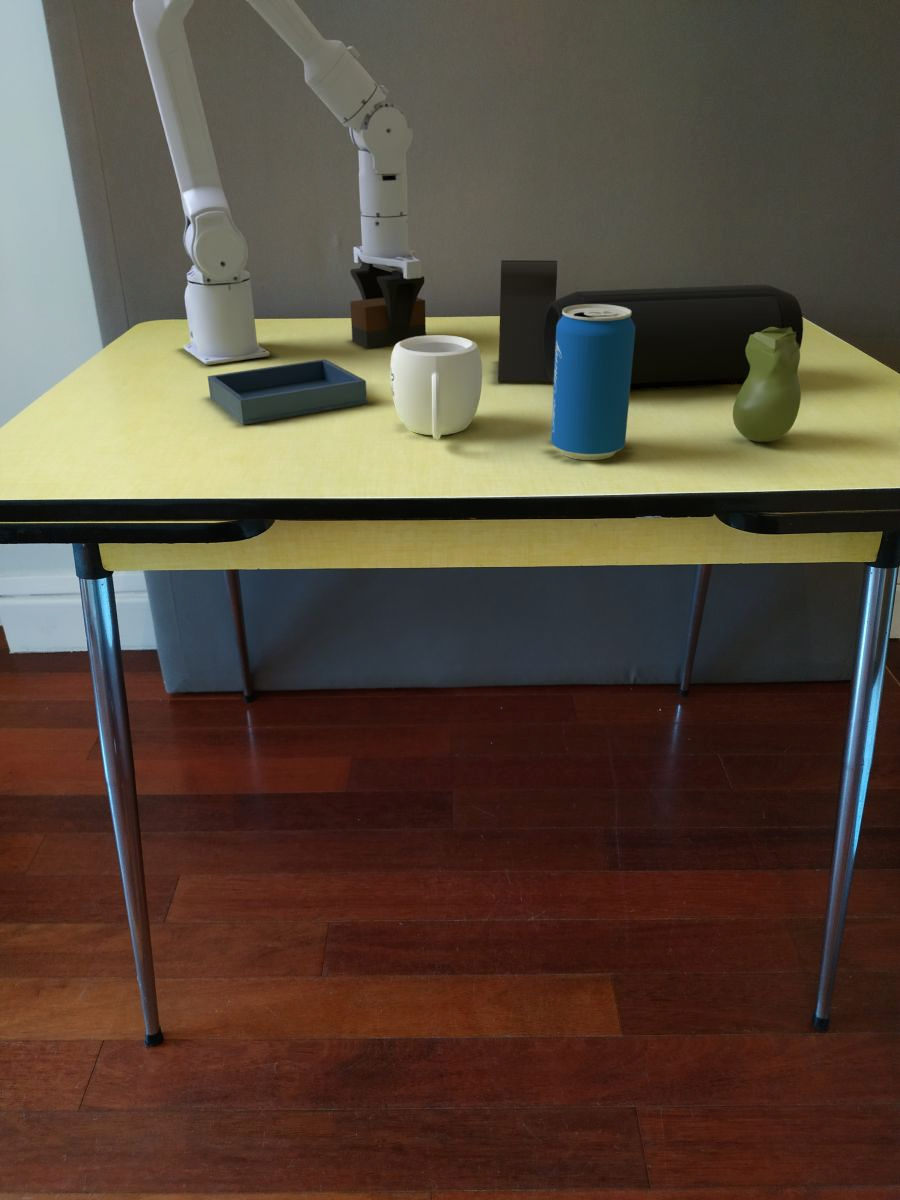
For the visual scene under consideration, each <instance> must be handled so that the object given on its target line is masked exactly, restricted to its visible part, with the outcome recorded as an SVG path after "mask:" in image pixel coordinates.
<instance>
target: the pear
mask: <svg viewBox="0 0 900 1200" xmlns="http://www.w3.org/2000/svg"><path fill="white" fill-rule="evenodd" d="M795 338H796V332H793V331H792V328H791V327H789V328H787V327H786V328H785V329H784V328H783V329H779V328H776V327H769V328H767V329H765V330H763V331H761V332H756V333H755V334H753V335H750V337H749V341H748V343H747V345H746V349H745V352H746V357H747V359H748V362H749V364H750V372H749V375H748V377H747V379H746V381H745V382H744V384H742V385H741V387H740V389H739V390H738V394H737V396H736V398H735V399H734V400H735V401H734V404H733V408H732V420H733V424H734V426H735V428H736V430H737V432H738V433H739V434H741V435H742V436H743V437H744V438H745V439H747V440H750V441H752V442H757V443H769V442H774V441H776V440H779V439H781V438H782V437H784V436H785V435H786V434H788V432H789V431H790V430H791V429H792V427H793V426H794V425H795V422H796V420H797V417H798V415H799V410H800V406H801V400H802V399H801V398H802V387H801V382H800V377H799V365H800V361H801V347H800V348H799V343H798V342H796V339H795Z"/></svg>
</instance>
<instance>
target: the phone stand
mask: <svg viewBox="0 0 900 1200" xmlns="http://www.w3.org/2000/svg"><path fill="white" fill-rule="evenodd" d="M557 283H558V260H524V259H523V260H520V259H519V260H517V259H515V260H512V259H511V260H509V259H508V260H505V259H504V260H503V259H502V260H500V289H499V290H500V292H499V295H500V297H499V327H498V330H499V334H498V369H497V383H498V384H549V385H550V384H553V385H554V383H552V382H551V381H550V379H549V377H548V375H547V372H546V367H545V361H544V353H543V330H544V321H545V315H546V311H547V308H548V306H549V304H550V303H551V302H553V301H555V300H557V286H558V285H557Z"/></svg>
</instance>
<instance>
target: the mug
mask: <svg viewBox="0 0 900 1200" xmlns="http://www.w3.org/2000/svg"><path fill="white" fill-rule="evenodd" d="M389 371H390V372H389V378H390V389H391V395H392V400H393V403H394V406H395V411H396V413H397V415H398V418H399V419H400V422H401V423H402V424H403V425H404V426H405V427H406V428H407V429H408V431H411V432H413V433H416V434H421V435H424V436H425V435H427V436H432V438H433V439H434V440H436V441H437V440H439V439H441V437H442V436H447V435H452V434H457V433H460V432H462V431H465V430H466V429H467V428H468V427H469V425H470V424H471V423H472V421H473V420H474V419H475V415H476V413H477V411H478V407H479V405H480V404H479V403H480V399H481V394H482V385H483V363H482V355H481V351H480V349H479V347H478V344H477V343H476V342H475V341H473V340H470V339H468V338H465V337H462V336H455V335H443V334H442V335H441V334H429V335H426V336H418V337H412V338H408V339H405V340H403V341H400V342H398V343H397V344H396V345H394V347H393V349H392V352H391V355H390V365H389Z"/></svg>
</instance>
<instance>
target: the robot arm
mask: <svg viewBox="0 0 900 1200" xmlns="http://www.w3.org/2000/svg"><path fill="white" fill-rule="evenodd" d="M195 1H196V0H133V1H132V10H133V15H134V20H135V23H136V27H137V31H138V35H139V39H140V43H141V47H142V50H143V51H142V52H143V54H144V58H145V62H146V65H147V66H146V67H147V69H148V73H149V78H150V81H151V85H152V89H153V92H154V96H155V100H156V104H157V108H158V112H159V117H160V119H161V123H162V128H163V131H164V134H165V138H166V142H167V145H168V150H169V154H170V157H171V161H172V165H173V169H174V172H175V177H176V180H177V184H178V185H177V186H178V188H179V193H180V198H181V205H182V210H183V213H184V218H185V226H184V232H183V246H184V249H185V252H186V254H187V255H188V257H189V258H190V259H191V261H192V262H193V265H192V266H191V269H189V271H188V272H187V273H186V280H187V286H186V287H185V291H184V304H185V312H186V318H187V327H188V332H189V333H188V334H189V339H190V343H189V344H187V343H186V344H184V345H183V349H184V350H185V351H186V352H188V353H189V354H190V355H192V356H193V357H194V358H196V359H197V360H199V361H200V362H201V363H203V364H204V365H209V366H210V365H215V364H224V363H230V362H238V361H245V360H251V359H257V358H259V359H260V358H265V357H269V356H271V353H270V351H268V350H267V349H265V348H264V347H262V346H260V345H258V337H257V328H256V320H255V311H254V309H255V308H254V302H253V292H252V283H251V272H249V271H248V270H245V267H246V264H247V262H248V258H249V248H248V244H247V241H246V238H245V237H244V235H243V234H242V232H241V231H240V230H239V229H238V227H237V226H236V224H235V223H234V220H233V217H232V214H231V209H230V206H229V203H228V201H227V197H226V194H225V191H224V188H223V185H222V181H221V176H220V173H219V172H220V171H219V168H218V164H217V160H216V155H215V151H214V147H213V143H212V139H211V134H210V131H209V127H208V122H207V117H206V114H205V109H204V106H203V101H202V97H201V93H200V89H199V85H198V80H197V75H196V71H195V67H194V63H193V59H192V55H191V50H190V47H189V43H188V38H187V34H186V30H185V29H186V28H185V25H184V20H185V18H186V16H187V14H188V13H189V11H190V9H191V7H192V6H193V4H194V3H195ZM245 1H246V2H247V3H248V4H249V5H250V6H251V7H252V8H253V9H254V10H255V11H256V12H257V13H258V14H259V16H260V17H261V18H262V19H263V20H264V21H265V22H266V23H267V24H268V26H269V27H271V29H273V31H274V32H275V33H276V34H277V35H278V36H279V37H280V38H281V39H282V40H283V41H284V43H285V44H287V46H288V47H289V48H290V49H291V50H292V51H293V52H294V53H295V54H296V55H297V57H299V59H300V60H301V61H302V63H303V69H304V83H306V85H307V86H308V87H309V88H310V90H311V91H312V92H313V93H315V95H316V96H317V98H319V100H321V102H322V103H323V104H324V105H325V106H326V107H327V108H328V109H329V111H330V112H331V113H332V114H333V116H335V118H336V119H337V120H338V121H339V122H340V123H341V125H342V126H343V127H345V128H349V135H350V138H351V143H353V145H354V146H355V147H357V148H358V149H359V150H358V153H357V154H358V169H359V170H358V186H359V187H358V188H359V189H358V191H359V208H360V210H359V211H360V228H361V230H360V232H361V245H360V246H353V262H354V263H355V264H361V265H360V266H359V268H358V267H356V268H351V269H350V275H351V277H352V279H353V281H354V282H355V285H356V286H357V289H358V290H359V293H360V296H361V300H367V299H375V298H384V299H385V303H386V307H387V314H388V321H389V327H390V331H391V334H392V335H394V336H396V335H403V334H408V331H409V327H410V322H411V317H412V313H413V308H414V305H415V302H416V299H417V298H418V296H419V294H420V292H421V289H422V288H423V286H424V284H425V276H423V275H422V274H423V273H422V260H420V259H418V251H416V250H414V249H413V250H412V249H410V242H409V241H410V240H409V237H410V236H409V204H408V203H409V202H408V201H409V200H408V197H409V196H408V172H407V151H408V150H409V148H410V146H411V144H412V141H413V139H414V129H413V128H411V125H410V123H409V122H410V119H409V118H408V117H409V116H408V115H407V113H406V112H405V111H404V109H403V108H402V107H401V106H400V105H397V104H396V103H393V102H390V101H386V99H387V96H388V94H389V90H388V89H387V88H386V87H385V85H383V84H382V85H378V83H376V81H375V80H374V79H373V78H372V77H371V75H370V74H369V73H368V71H366V69H365V68H364V67H363V66H362V64H361V63H360V62H359V60H358V59H359V58H360V55H361V54H360V53H359V51H358V50H357V49H356V48H355V47H354V46H353V45H349V46H348V47H347V46H346V45H345V44H344V42H343V41H341V40H339V39H338V40H337V39H325V38H324V37H323V36H322V35H321V33H320V32H319V31H318V29H317V28H316V27H315V25H314V24H313V23H312V22H311V20H310V19H309V18H308V16H307V15H306V14H305V12H303V10H302V9H301V7H300V6H299V5H298V4H297V2H296V1H295V0H245Z"/></svg>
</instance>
